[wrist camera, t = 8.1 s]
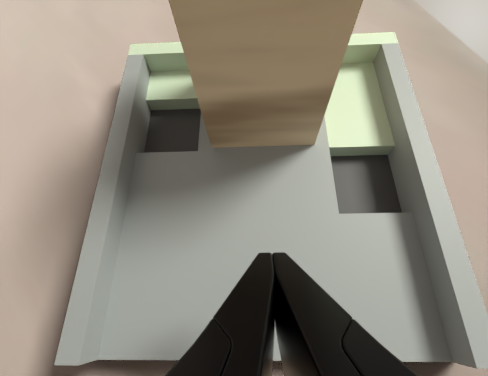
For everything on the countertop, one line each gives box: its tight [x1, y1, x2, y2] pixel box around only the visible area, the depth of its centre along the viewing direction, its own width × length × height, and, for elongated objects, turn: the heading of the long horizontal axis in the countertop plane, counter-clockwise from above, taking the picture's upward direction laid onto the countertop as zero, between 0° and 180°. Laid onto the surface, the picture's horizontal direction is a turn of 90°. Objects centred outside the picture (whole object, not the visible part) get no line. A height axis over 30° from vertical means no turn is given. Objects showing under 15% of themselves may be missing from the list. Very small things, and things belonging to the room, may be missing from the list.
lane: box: [54, 32, 488, 369], centre depth 15 cm, size 18×17×3 cm
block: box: [169, 0, 363, 148], centre depth 13 cm, size 6×6×9 cm
